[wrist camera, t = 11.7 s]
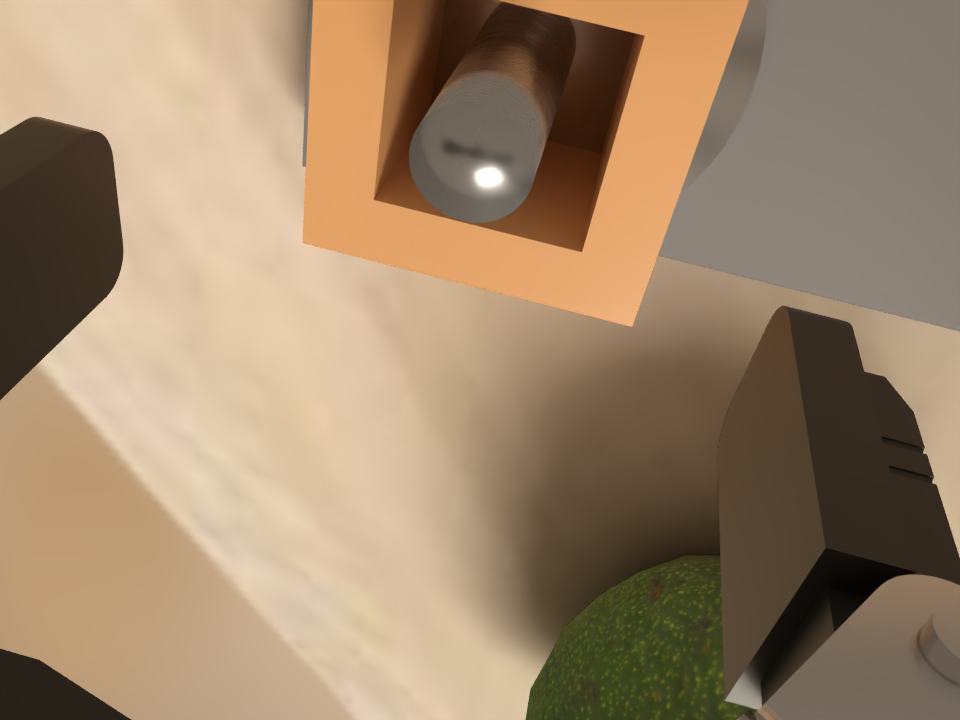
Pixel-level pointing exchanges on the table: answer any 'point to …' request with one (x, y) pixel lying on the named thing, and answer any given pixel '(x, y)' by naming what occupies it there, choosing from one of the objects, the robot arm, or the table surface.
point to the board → (837, 161)
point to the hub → (540, 101)
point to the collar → (562, 169)
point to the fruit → (642, 651)
